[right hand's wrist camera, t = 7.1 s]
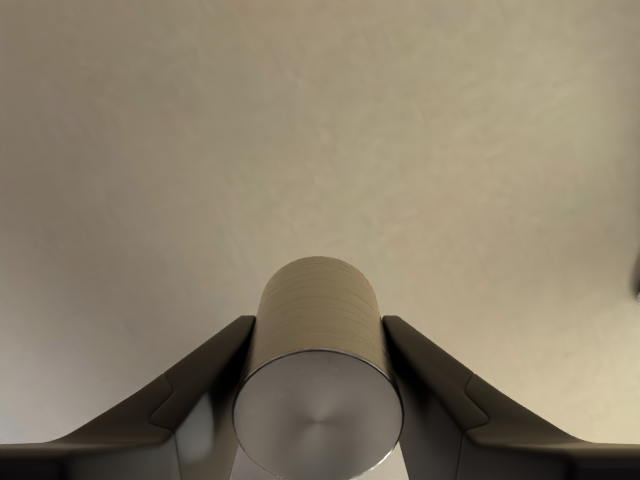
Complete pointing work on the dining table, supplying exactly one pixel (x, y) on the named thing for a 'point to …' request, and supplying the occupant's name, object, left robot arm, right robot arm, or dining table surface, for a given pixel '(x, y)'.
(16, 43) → the dining table surface
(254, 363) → the can
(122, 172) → the dining table surface
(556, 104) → the dining table surface
